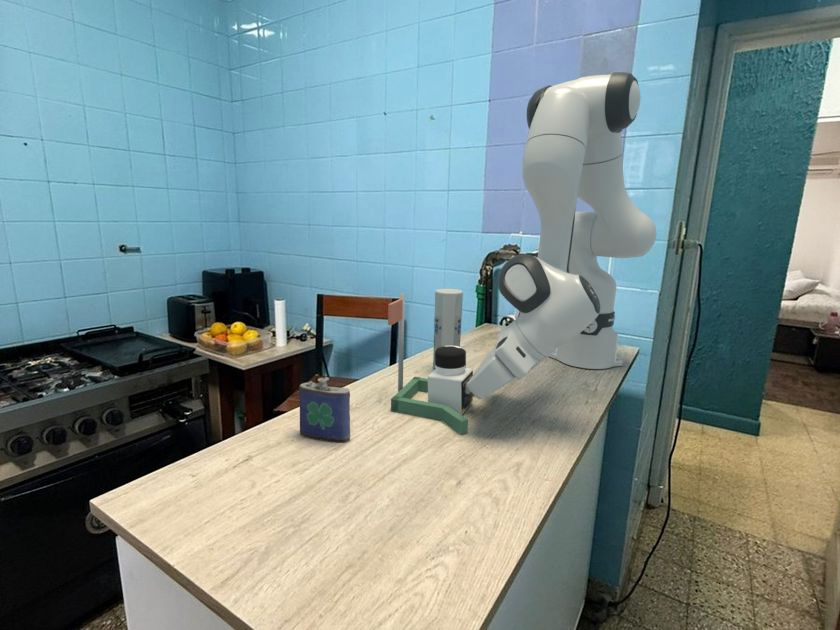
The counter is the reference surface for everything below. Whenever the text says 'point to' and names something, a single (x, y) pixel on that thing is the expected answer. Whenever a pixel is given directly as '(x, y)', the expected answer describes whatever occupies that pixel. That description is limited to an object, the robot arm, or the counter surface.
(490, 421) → the counter surface
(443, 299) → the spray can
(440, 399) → the medicine bottle
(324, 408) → the flask
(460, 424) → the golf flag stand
